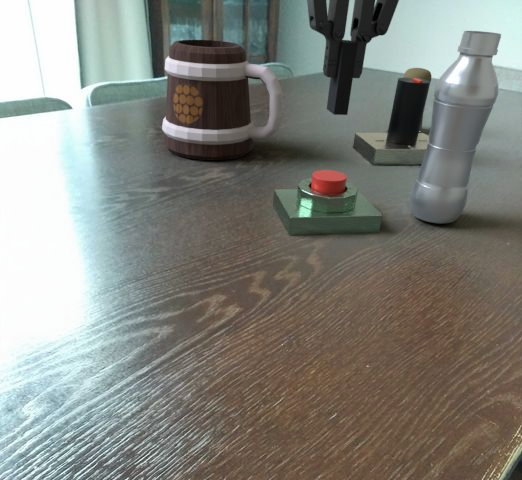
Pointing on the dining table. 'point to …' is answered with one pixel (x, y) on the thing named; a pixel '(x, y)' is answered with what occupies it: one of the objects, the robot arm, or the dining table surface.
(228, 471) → the dining table surface
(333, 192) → the button
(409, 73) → the cork
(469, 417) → the dining table surface
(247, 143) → the mug
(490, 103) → the plastic bottle
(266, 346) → the dining table surface
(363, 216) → the button box
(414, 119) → the black battery
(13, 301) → the dining table surface
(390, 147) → the base
